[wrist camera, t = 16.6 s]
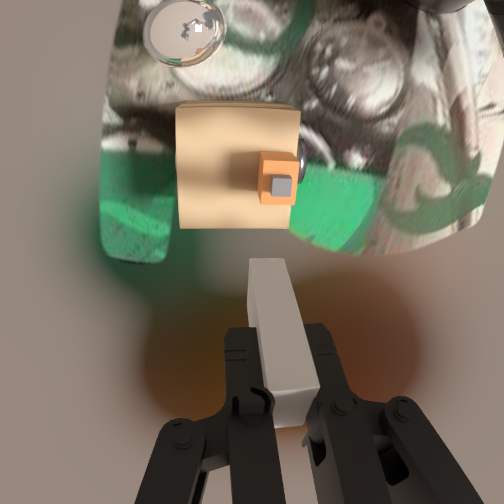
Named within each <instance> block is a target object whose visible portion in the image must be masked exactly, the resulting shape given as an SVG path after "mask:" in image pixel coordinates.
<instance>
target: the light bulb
mask: <svg viewBox="0 0 504 504" xmlns="http://www.w3.org/2000/svg"><path fill="white" fill-rule="evenodd" d="M226 32H227V24H226V20H225V16H224V14H223V12H222V11H221V9H220V8H219V7H218V5H217V4H216V3H214V2H213V1H212V0H163V1H161V2H160V3H159V4H157V5H156V6H155V7H154V8H153V9H152V10H151V12H150V13H149V14H148V16H147V18H146V20H145V23H144V26H143V42H144V45H145V47H146V49H147V51H148V53H149V54H150V55H151V56H152V57H153V58H154V59H156V60H157V61H158V62H160V63H162V64H164V65H166V66H170V67H175V68H186V67H192V66H196V65H199V64H201V63H203V62H205V61H207V60H208V59H209V58H211V57H212V56H213V55H214V54H215V53H216V52H217V51H218V50H219V49H220V47H221V46H222V44H223V42H224V39H225V36H226Z"/></svg>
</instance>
